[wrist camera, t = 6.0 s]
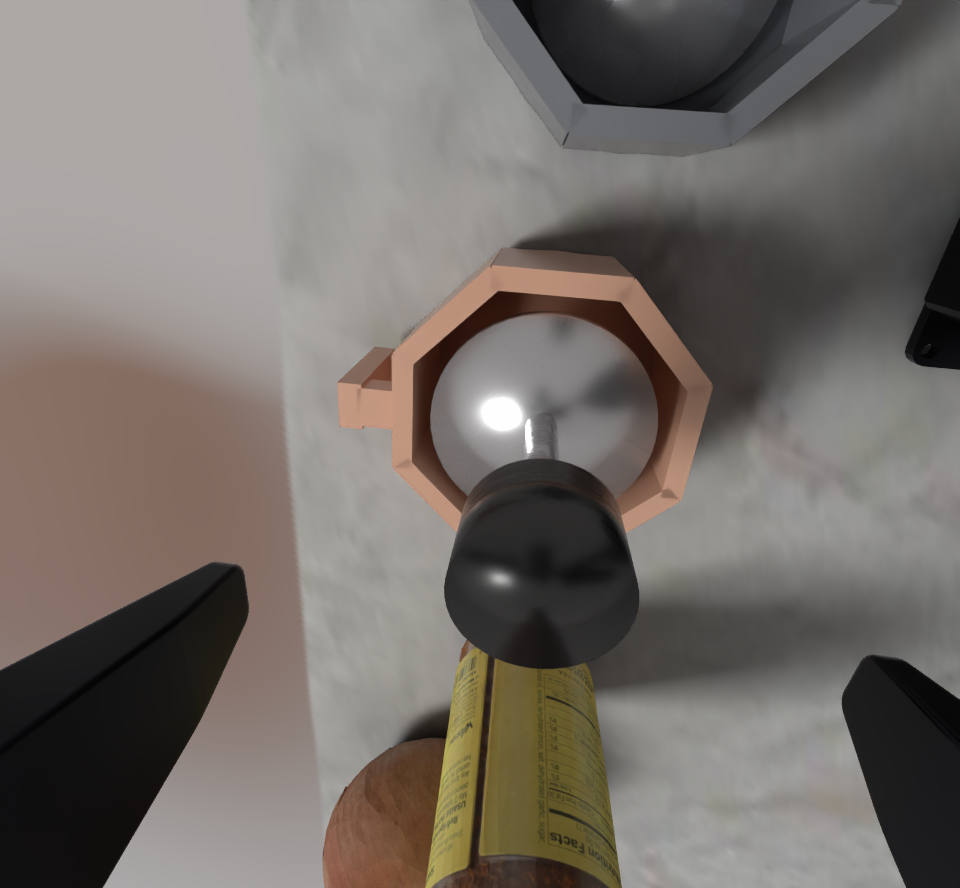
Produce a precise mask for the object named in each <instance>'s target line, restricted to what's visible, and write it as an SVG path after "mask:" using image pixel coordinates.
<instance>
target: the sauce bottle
mask: <svg viewBox="0 0 960 888" xmlns="http://www.w3.org/2000/svg"><path fill="white" fill-rule="evenodd" d="M425 888H622V885H621V878H620V871H619V864H618V857H617V850H616V843H615V835H614V827H613V820H612V812H611V805H610V797H609V790H608V782H607V776H606V770H605V763H604V757H603V750H602V743H601V737H600V730H599V724H598V717H597V709H596V701H595V694H594V688H593V681H592V676H591V673H590V670H589V668H588V666H587V664H586V663H583V664H579V665H576V666H571V667H566V668H558V669H534V668H526V667H521V666H516V665H513V664H509V663H506V662H503V661H501V660H498V659H496V658H494V657H492V656H490V655H488V654H486V653H484V652H483V651H481V650H480V649H478V648H477V647H475V646H474V645H473V644H472V643H471V642H469V641H468V640H467V641H466V643H465V644H464V646H463V648H462V651H461V656H460V663H459V666H458V668H457V672H456V676H455V683H454V689H453V696H452V702H451V710H450V718H449V725H448V731H447V738H446V744H445V752H444V759H443V767H442V774H441V782H440V789H439V796H438V803H437V809H436V816H435V824H434V831H433V838H432V845H431V852H430V858H429V865H428V872H427V879H426V885H425Z"/></svg>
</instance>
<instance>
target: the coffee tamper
mask: <svg viewBox="0 0 960 888" xmlns="http://www.w3.org/2000/svg"><path fill="white" fill-rule="evenodd" d="M777 1H778V0H531V2H532V7H533V13H534V17H535V20H536V24H537V27H538V30H539V33H540V35H541V38H542V40H543V42H544V45H545V47H546V49H547V51H548V52H549V54H550V56H551V57H552V59H553V61H554V62H555V64H556V65H557V66H558V68H559V69H560V70H561V71H562V73H563V74H564V75H565V76H566V77H567V78H568V79H569V80H570V81H571V82H572V83H573V84H574V85H575V86H577V87H578V88H579V89H581V90H582V91H584V92H585V93H587V94H588V95H590V96H592V97H594V98H596V99H598V100H600V101H603V102H606V103H609V104H612V105H616V106H622V107H637V108H646V107H652V106H658V105H663V104H666V103H670V102H673V101H676V100H679V99H681V98H683V97H685V96H687V95H689V94H692V93H693V92H695V91H697V90H698V89H700V88H702V87H703V86H705V85H706V84H708V83H710V82H711V81H713V80H714V79H715V78H716V77H718V76H719V75H720V74H721V73H723V72H724V71H725V70H727V69H728V68H729V67H730V66H731V65H732V64H733V63H734V62H735V61H736V60H737V59H738V58H739V57H740V56H741V55H742V54H743V53H744V51H745V50H746V49H747V48H748V46H749V45H750V44H751V43H752V42H753V40H754V39H755V38H756V36H757V35H758V33H759V32H760V30H761V29H762V27H763V26H764V24H765V23H766V21H767V19H768V18H769V16H770V14H771V12H772V10H773V8H774V6H775V4H776V3H777Z"/></svg>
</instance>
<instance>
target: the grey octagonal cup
mask: <svg viewBox="0 0 960 888" xmlns="http://www.w3.org/2000/svg"><path fill="white" fill-rule="evenodd" d="M468 1H469V3H470V6H471V8H472V11H473V13H474V16H475V18H476V21H477V23H478V26H479V28H480V31H481V33H482V36H483V38H484V40H485V42H486V43H487V44H488V46H489V47H490V49H491V50H492V51H493V53H494V54H495V56H496V57H497V58H498V60H499V61H500V63H501V64H502V65H503V67H504V68H505V70H506V71H507V72H508V74H509V75H510V77H511V78H512V79H513V81H514V82H515V84H516V86H517V87H518V89H519V90H520V92H521V94H522V95H523V97H524V99H525V100H526V101H527V102H528V103H529V105H530V106H531V107H532V108H533V109H534V111H535V112H536V113H537V114H538V116H539V117H540V119H541V120H542V122H543V123H544V124H545V126H546V127H547V129H548V130H549V131H550V133H551V134H552V136H553V137H554V138H555V140H556V141H557V143H558V144H559V145H560V147H562V146H563V148H565V149H579V150H593V151H604V152H611V153H618V154H649V155H663V156H677V157H684V156H689V155H693V154H698V153H702V152H707V151H711V150H715V149H720V148H724V147H729V146H731V145H733V144H735V143H736V142H737V141H738V140H740V139H741V138H742V137H743V136H744V135H746V134H747V133H748V132H749V131H750V130H752V129H753V128H754V127H755V126H757V125H758V124H759V123H760V122H761V121H763V120H764V119H765V118H766V117H767V116H769V115H770V114H771V113H772V112H774V111H775V110H776V109H777V108H778V107H780V106H781V105H782V104H783V103H784V102H786V101H787V100H788V99H789V98H791V97H792V96H793V95H794V94H795V93H797V92H798V91H799V90H800V89H801V88H803V87H804V86H805V85H806V84H808V83H809V82H810V81H811V80H812V79H814V78H815V77H816V76H817V75H818V74H820V73H821V72H822V71H823V70H825V69H826V68H827V67H828V66H829V65H831V64H832V63H833V62H834V61H835V60H837V59H838V58H839V57H840V56H842V55H843V54H844V53H845V52H846V51H848V50H849V49H850V48H851V47H852V46H854V45H855V44H856V43H857V42H859V41H860V40H861V39H862V38H863V37H865V36H866V35H867V34H868V33H870V32H871V31H872V30H873V29H874V28H876V27H877V26H878V25H879V24H880V23H882V22H883V21H884V20H885V19H887V18H888V17H889V16H890V15H891V14H893V13H894V12H895V11H896V10H897V9H898V6H900V5H901V3H902V0H778V1H777V3H776V4H775V6H774V8H773V10H772V12H771V14H770V16H769V18H768V19H767V21H766V23H765V24H764V26H763V27H762V29H761V30H760V32H759V33H758V35H757V36H756V38H755V39H754V40H753V42H752V43H751V44H750V45H749V46H748V48H747V49H746V50H745V51H744V53H743V54H742V55H741V56H740V57H739V58H738V59H737V60H736V61H735V62H734V63H733V64H732V65H731V66H730V67H729V68H728V69H727V70H725V71H724V72H723V73H721V74H720V75H719V76H718V77H716V78H715V79H714V80H713V81H711V82H710V83H708V84H706V85H705V86H703V87H702V88H700V89H698V90H697V91H695V92H693V93H692V94H689V95H687V96H685V97H683V98H681V99H679V100H676V101H673V102H670V103H666V104H663V105H658V106H652V107H646V108H637V107H622V106H616V105H612V104H609V103H606V102H603V101H600V100H598V99H596V98H594V97H592V96H590V95H588V94H587V93H585V92H584V91H582V90H581V89H579V88H578V87H577V86H575V85H574V84H573V83H572V82H571V81H570V80H569V79H568V78H567V77H566V76H565V75H564V74H563V73H562V71H561V70H560V69H559V68H558V66H557V65H556V64H555V62H554V61H553V59H552V57H551V56H550V54H549V52H548V51H547V49H546V47H545V45H544V42H543V40H542V38H541V35H540V33H539V30H538V27H537V24H536V20H535V17H534V13H533V7H532V2H531V0H468Z"/></svg>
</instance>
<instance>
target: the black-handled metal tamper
mask: <svg viewBox="0 0 960 888" xmlns="http://www.w3.org/2000/svg"><path fill="white" fill-rule="evenodd" d="M430 421H431V433H432V439H433V443H434V446H435V449H436V453H437V455H438V457H439V459H440V462H441V464H442V466H443V467H444V469H445V471H446V472H447V474H448V475H449V477H450V478H451V479H452V480H453V482H454V483H455V484H456V485H457V486H458V487H459V488H460V489H461V490H462V491H463V492H464V493H465V494H466V495H467V496H468V498H467V500H466V502H465V504H464V507H463V511H462V515H461V518H460V522H459V526H458V530H457V534H456V538H455V542H454V546H453V550H452V554H451V558H450V562H449V566H448V570H447V574H446V578H445V586H444V594H445V602H446V607H447V609H448V612H449V615H450V617H451V619H452V621H453V622H454V624H455V626H456V627H457V628H458V630H459V631H460V632H461V634H462V635H463V636H464V637H465V638H466V639H467V640H468V641H469V642H471V643H472V644H473V645H474V646H475V647H477V648H478V649H480V650H481V651H483V652H484V653H486V654H488V655H490V656H492V657H494V658H496V659H498V660H501V661H503V662H506V663H509V664H513V665H516V666H521V667H526V668H534V669H558V668H566V667H571V666H576V665H579V664H583V663H586V662H589V661H591V660H593V659H596V658H598V657H599V656H601V655H603V654H605V653H606V652H608V651H609V650H611V649H612V648H613V647H615V646H616V645H617V644H618V643H619V642H620V641H621V640H622V639H623V638H624V636H625V635H626V634H627V633H628V631H629V630H630V628H631V626H632V624H633V623H634V620H635V617H636V615H637V612H638V606H639V589H638V583H637V578H636V574H635V570H634V566H633V562H632V557H631V553H630V549H629V545H628V541H627V536H626V532H625V528H624V524H623V519H622V515H621V512H620V509H619V506H618V503H617V501H616V500H615V499H617V498H618V497H619V496H620V495H622V494H623V493H624V492H625V491H626V490H627V489H628V488H629V487H630V486H631V485H632V484H633V483H634V481H635V480H636V479H637V478H638V477H639V475H640V474H641V472H642V471H643V469H644V468H645V466H646V464H647V462H648V460H649V458H650V456H651V454H652V450H653V447H654V444H655V441H656V435H657V429H658V408H657V400H656V396H655V393H654V389H653V386H652V383H651V381H650V379H649V377H648V374H647V372H646V370H645V369H644V367H643V365H642V364H641V362H640V361H639V359H638V357H637V356H636V354H635V353H634V352H633V351H632V350H631V349H630V347H629V346H628V345H627V344H626V343H625V342H624V341H623V340H622V339H620V338H619V337H618V336H617V335H616V334H615V333H613V332H612V331H610V330H609V329H607V328H605V327H604V326H602V325H601V324H598V323H596V322H594V321H592V320H590V319H587V318H584V317H581V316H578V315H574V314H571V313H565V312H558V311H533V312H524V313H520V314H515V315H511V316H508V317H505V318H503V319H500V320H498V321H495V322H493V323H491V324H489V325H488V326H486V327H484V328H482V329H481V330H479V331H478V332H476V333H475V334H474V335H472V336H471V337H470V338H469V339H468V340H467V341H465V342H464V343H463V344H462V345H461V346H460V347H459V348H458V350H457V351H456V352H455V354H454V355H453V356H452V357H451V359H450V360H449V362H448V364H447V365H446V367H445V369H444V371H443V372H442V374H441V376H440V378H439V381H438V383H437V386H436V388H435V391H434V395H433V399H432V405H431V414H430Z"/></svg>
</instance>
